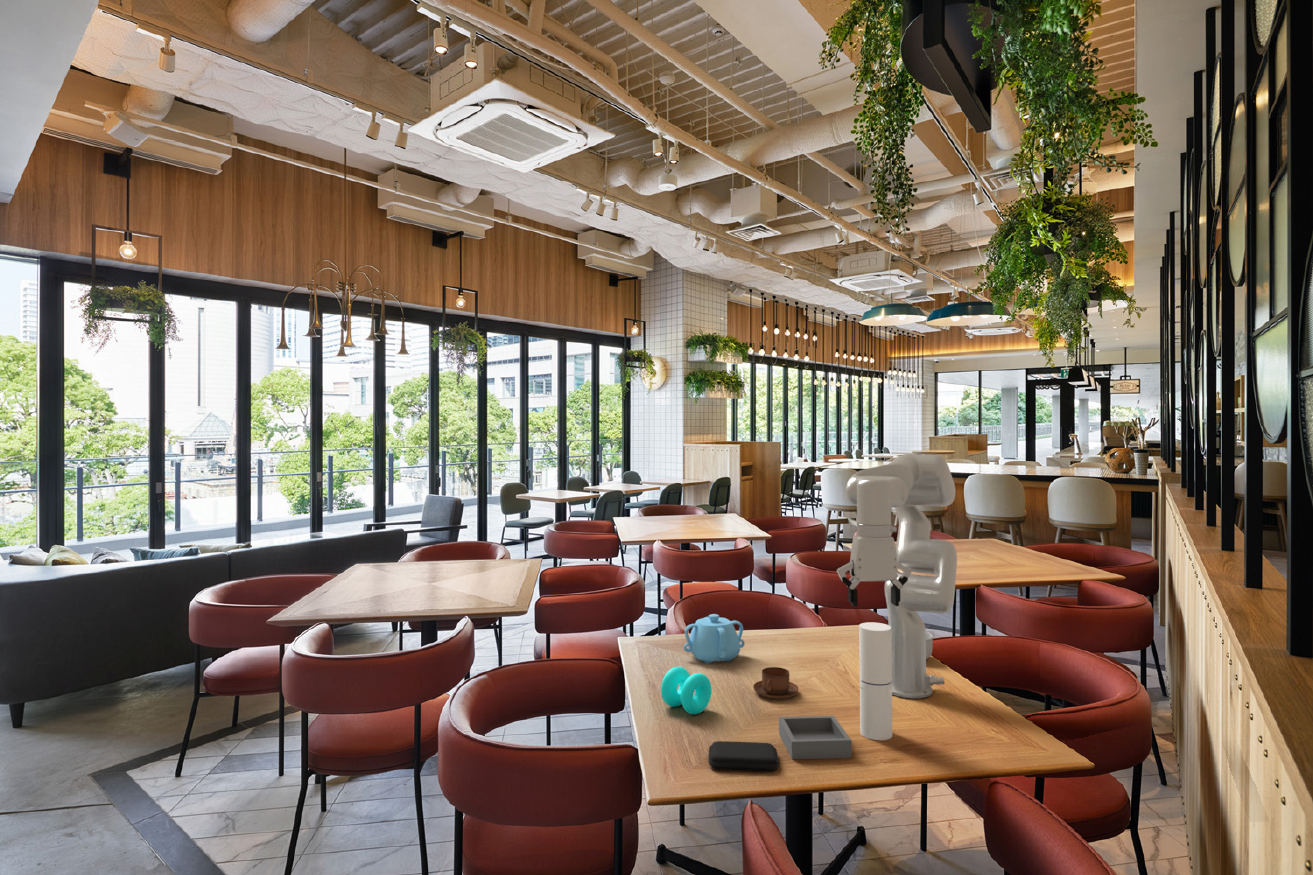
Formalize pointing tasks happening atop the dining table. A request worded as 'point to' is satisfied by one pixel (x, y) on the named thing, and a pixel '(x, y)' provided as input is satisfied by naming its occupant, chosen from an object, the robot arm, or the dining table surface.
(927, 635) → the teacup
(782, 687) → the cup and saucer
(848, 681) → the dining table surface
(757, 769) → the carrying case or bag
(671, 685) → the turquoise double ring spool
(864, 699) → the cylindrical container
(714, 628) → the decorative pot
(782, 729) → the holder tray
